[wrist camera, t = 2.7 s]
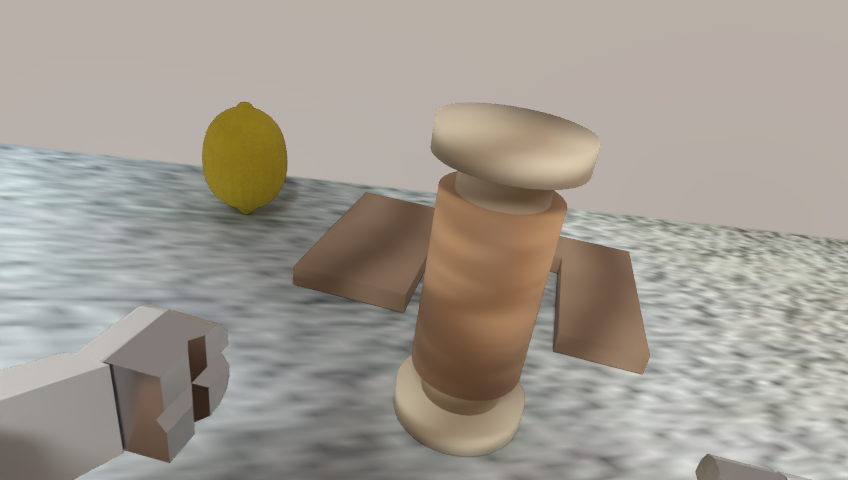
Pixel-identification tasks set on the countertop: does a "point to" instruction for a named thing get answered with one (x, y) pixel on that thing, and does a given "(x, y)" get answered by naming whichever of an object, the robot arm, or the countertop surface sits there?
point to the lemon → (244, 157)
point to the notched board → (406, 260)
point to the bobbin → (487, 270)
